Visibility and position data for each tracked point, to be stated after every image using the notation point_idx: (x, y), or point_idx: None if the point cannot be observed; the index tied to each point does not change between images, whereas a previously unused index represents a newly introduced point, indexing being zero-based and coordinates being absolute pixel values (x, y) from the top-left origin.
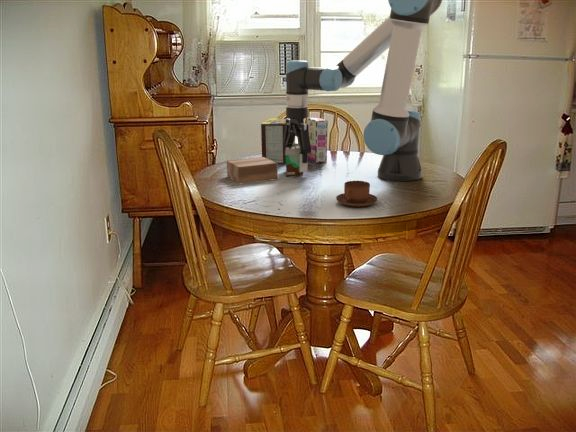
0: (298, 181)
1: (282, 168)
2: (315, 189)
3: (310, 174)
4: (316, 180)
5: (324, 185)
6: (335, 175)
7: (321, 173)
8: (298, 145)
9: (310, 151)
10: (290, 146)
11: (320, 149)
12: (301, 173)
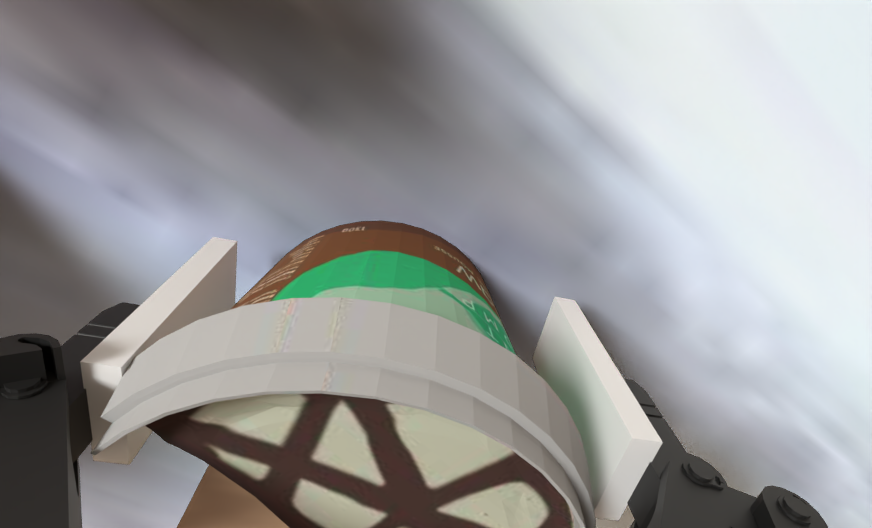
0: None
1: (139, 263)
2: (867, 443)
3: (520, 208)
4: (719, 301)
5: (867, 347)
6: (750, 21)
7: (566, 87)
8: (229, 389)
9: (808, 516)
10: (77, 408)
11: None
12: (490, 296)
